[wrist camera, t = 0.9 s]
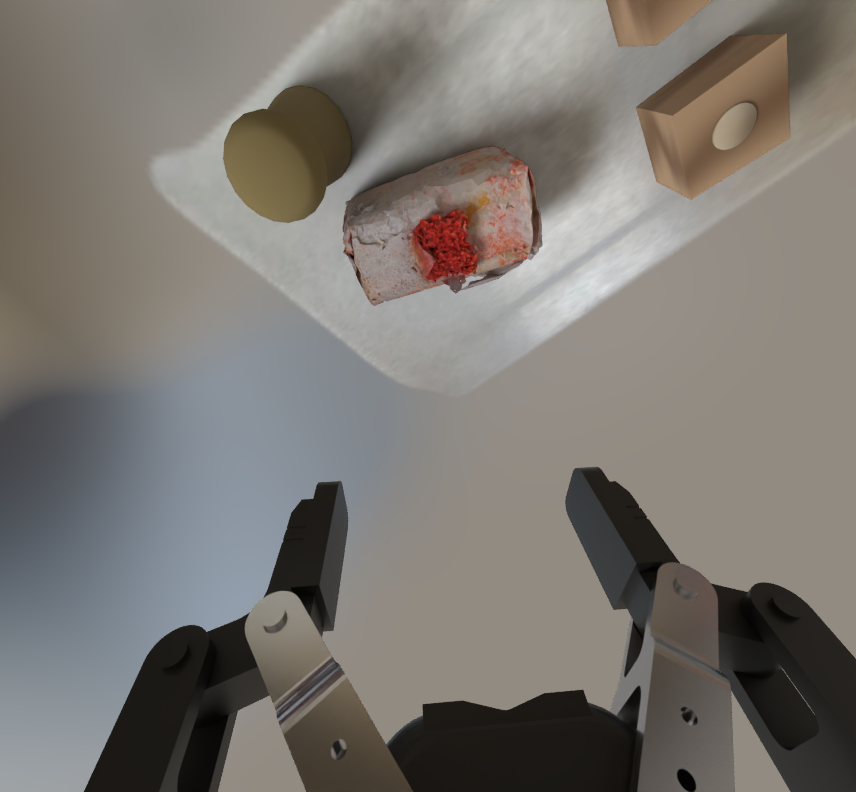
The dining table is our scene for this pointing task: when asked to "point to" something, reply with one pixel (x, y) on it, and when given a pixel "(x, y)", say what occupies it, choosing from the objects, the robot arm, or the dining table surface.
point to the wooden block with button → (718, 113)
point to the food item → (444, 225)
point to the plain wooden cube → (649, 19)
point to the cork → (288, 154)
